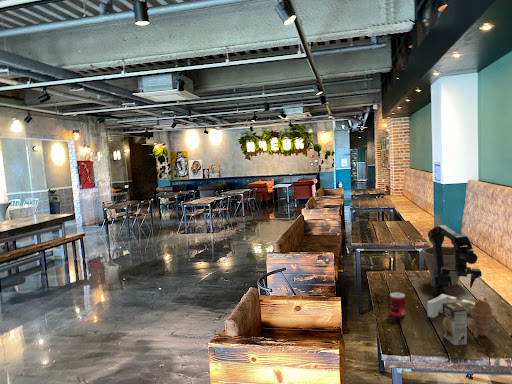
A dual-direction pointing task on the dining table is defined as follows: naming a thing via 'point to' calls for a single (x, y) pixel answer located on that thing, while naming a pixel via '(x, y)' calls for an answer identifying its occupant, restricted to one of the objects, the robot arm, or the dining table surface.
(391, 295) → the canned food
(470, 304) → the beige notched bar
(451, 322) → the coffee box
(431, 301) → the slotted bar
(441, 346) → the dining table surface
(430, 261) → the plant pot
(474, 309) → the cat ice cream
